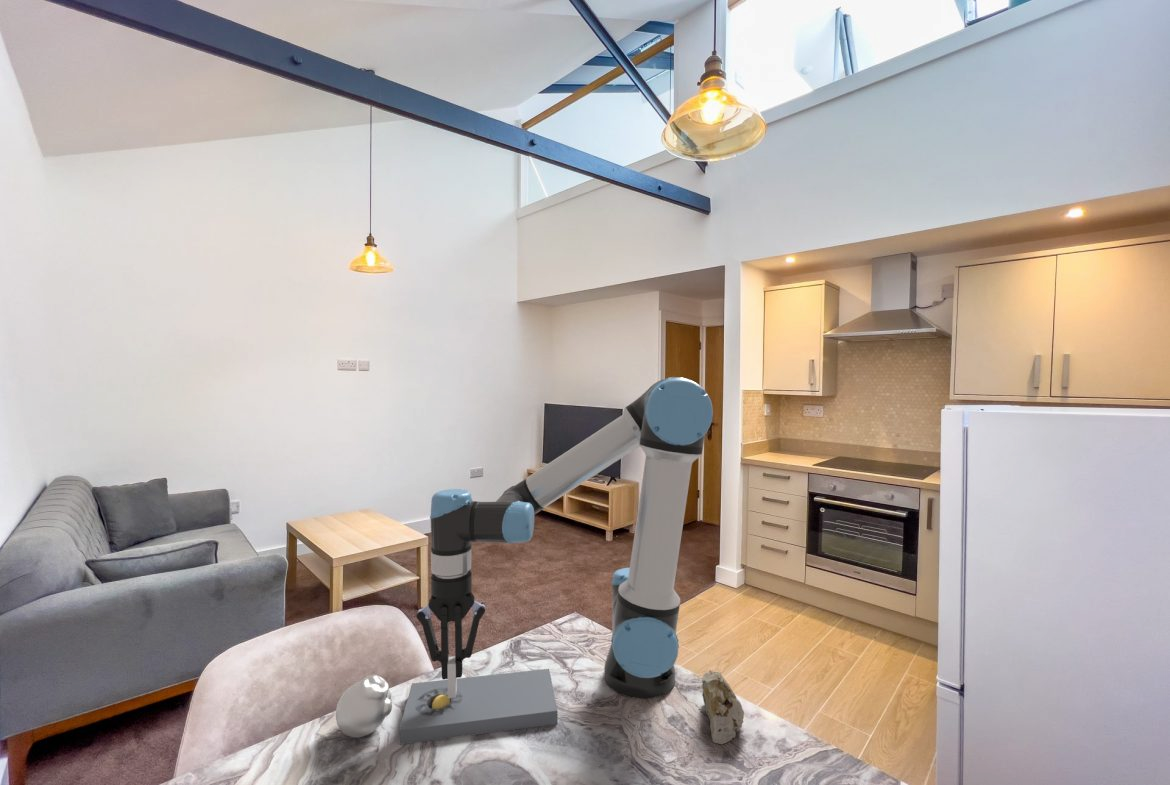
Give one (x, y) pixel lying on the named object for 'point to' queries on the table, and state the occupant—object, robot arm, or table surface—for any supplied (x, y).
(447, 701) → the ball
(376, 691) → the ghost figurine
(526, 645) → the table surface
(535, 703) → the grey flat block
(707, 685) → the rock
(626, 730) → the table surface
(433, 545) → the robot arm
